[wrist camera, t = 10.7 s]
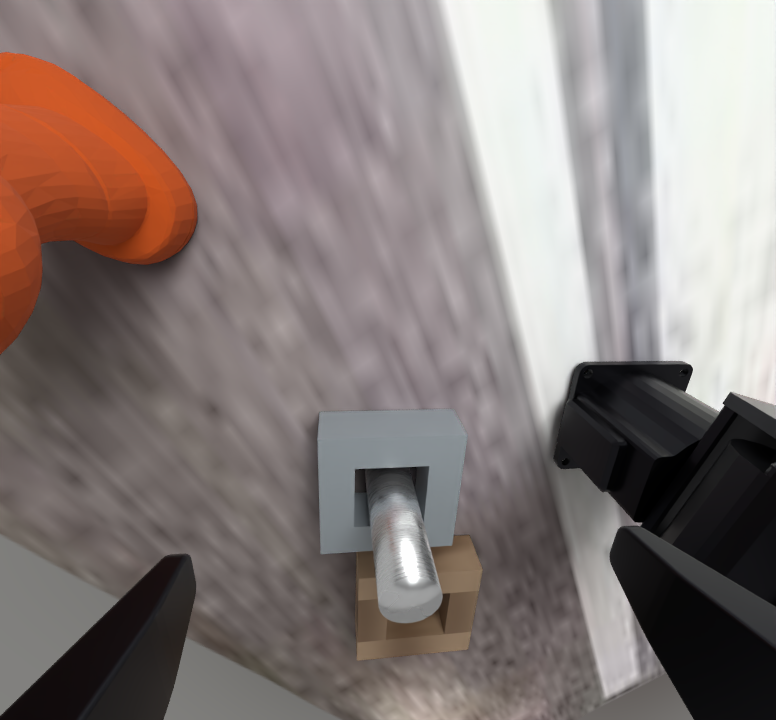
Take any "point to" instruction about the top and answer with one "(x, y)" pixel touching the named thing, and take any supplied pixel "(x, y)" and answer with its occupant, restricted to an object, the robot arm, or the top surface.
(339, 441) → the gray square ring
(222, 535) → the top surface
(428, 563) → the silver metal rod
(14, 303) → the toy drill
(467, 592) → the socket block
